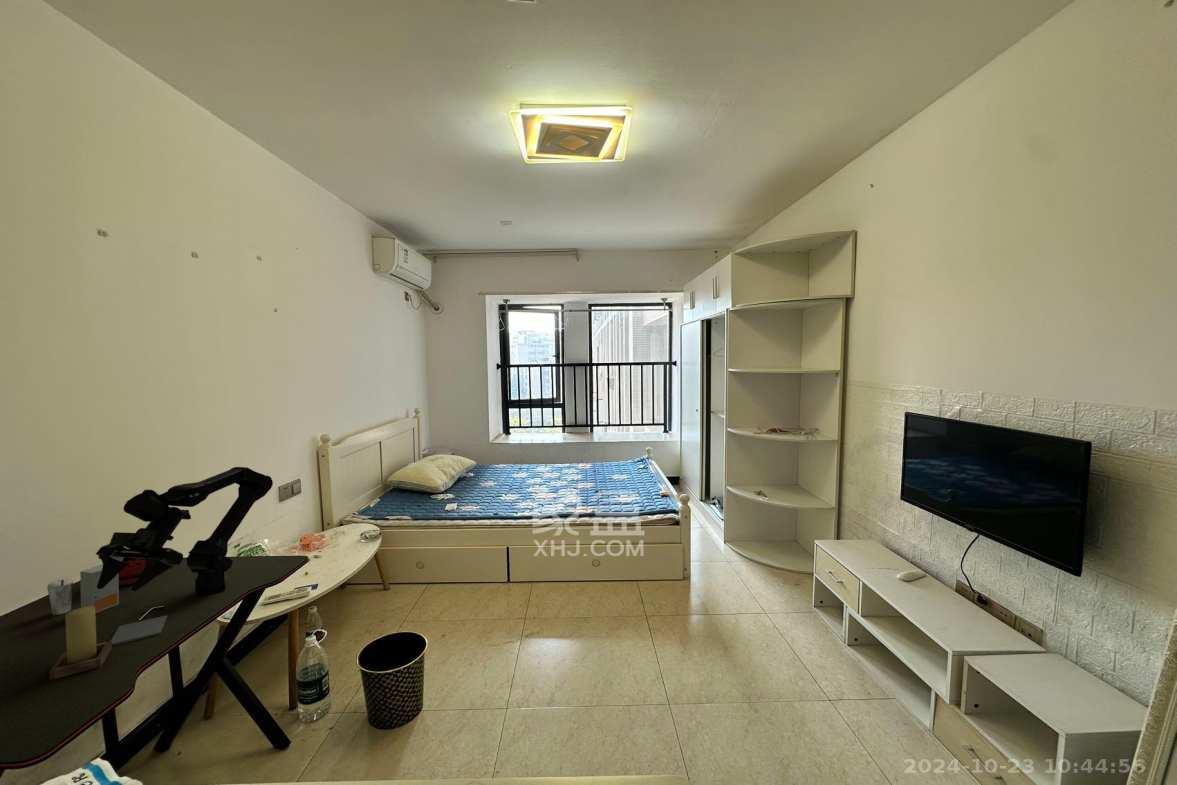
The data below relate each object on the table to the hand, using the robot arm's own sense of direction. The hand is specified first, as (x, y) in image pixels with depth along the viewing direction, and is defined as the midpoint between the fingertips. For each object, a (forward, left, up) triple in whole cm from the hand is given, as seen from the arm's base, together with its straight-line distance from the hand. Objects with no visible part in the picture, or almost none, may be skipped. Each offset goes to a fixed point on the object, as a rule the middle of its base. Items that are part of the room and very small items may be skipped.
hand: (116, 589), depth 106 cm
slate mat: (-3, -3, -13) cm, 14 cm away
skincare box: (+8, -22, -14) cm, 27 cm away
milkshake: (+16, -25, -13) cm, 33 cm away
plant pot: (+5, -41, -14) cm, 44 cm away
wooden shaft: (+4, +7, -13) cm, 16 cm away
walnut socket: (+4, +7, -13) cm, 16 cm away
